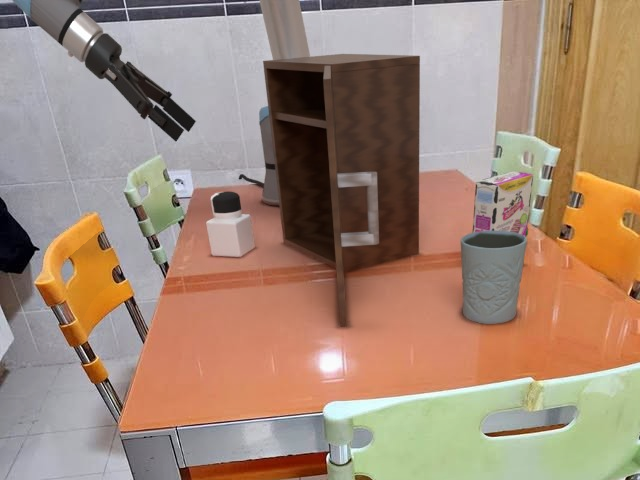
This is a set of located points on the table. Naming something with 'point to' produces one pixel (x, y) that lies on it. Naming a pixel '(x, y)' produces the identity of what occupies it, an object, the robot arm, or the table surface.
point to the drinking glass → (491, 275)
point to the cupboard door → (337, 182)
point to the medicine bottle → (229, 226)
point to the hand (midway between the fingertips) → (186, 131)
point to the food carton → (503, 203)
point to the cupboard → (347, 152)
